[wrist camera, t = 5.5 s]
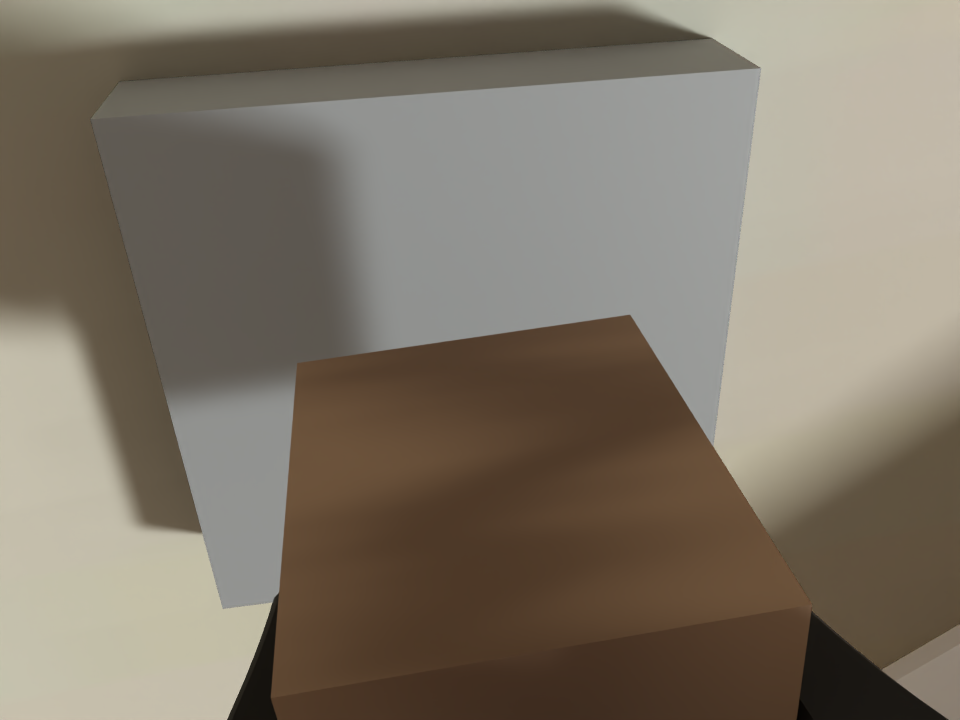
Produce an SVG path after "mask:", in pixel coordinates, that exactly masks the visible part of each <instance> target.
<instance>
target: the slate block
mask: <svg viewBox="0 0 960 720" xmlns="http://www.w3.org/2000/svg"><path fill="white" fill-rule="evenodd" d="M760 72H761V68H760V67H758V66H757V65H755V64H753V63H752V62H750V61H748V60H747V59H745V58H744V57H742V56H740V55H739V54H737V53H735V52H734V51H732V50H731V49H729V48H727V47H726V46H724V45H722V44H721V43H719V42H717V41H716V40H714V39H713V38H710V39H696V40H682V41H669V42H655V43H641V44H627V45H613V46H600V47H586V48H572V49H558V50H545V51H531V52H517V53H503V54H490V55H476V56H462V57H448V58H434V59H421V60H407V61H393V62H379V63H366V64H352V65H338V66H324V67H311V68H297V69H283V70H269V71H256V72H242V73H228V74H214V75H200V76H187V77H173V78H159V79H145V80H132V81H120V82H119V83H118V84H117V85H116V87H115V88H114V89H113V91H112V92H111V93H110V94H109V96H108V97H107V98H106V100H105V101H104V102H103V103H102V105H101V106H100V107H99V109H98V110H97V111H96V112H95V114H94V115H93V116H92V118H91V119H90V120H91V124H92V128H93V131H94V135H95V139H96V142H97V146H98V150H99V153H100V157H101V161H102V164H103V168H104V172H105V176H106V179H107V183H108V187H109V190H110V194H111V198H112V201H113V205H114V209H115V212H116V216H117V220H118V224H119V227H120V231H121V235H122V238H123V242H124V246H125V249H126V253H127V257H128V260H129V264H130V268H131V272H132V275H133V279H134V283H135V286H136V290H137V294H138V297H139V301H140V305H141V308H142V312H143V316H144V320H145V323H146V327H147V331H148V334H149V338H150V342H151V345H152V349H153V353H154V356H155V360H156V364H157V368H158V371H159V375H160V379H161V382H162V386H163V390H164V393H165V397H166V401H167V404H168V408H169V412H170V416H171V419H172V423H173V427H174V430H175V434H176V438H177V441H178V445H179V449H180V452H181V456H182V460H183V464H184V467H185V471H186V475H187V478H188V482H189V486H190V489H191V493H192V497H193V500H194V504H195V508H196V512H197V515H198V519H199V523H200V526H201V530H202V534H203V537H204V541H205V545H206V548H207V552H208V556H209V560H210V563H211V567H212V571H213V574H214V578H215V582H216V585H217V589H218V593H219V596H220V600H221V604H222V607H223V609H225V608H233V607H240V606H248V605H256V604H264V603H271V602H273V600H274V597H275V596H276V595H277V594H278V593H279V587H280V574H281V561H282V548H283V535H284V523H285V510H286V497H287V484H288V472H289V459H290V446H291V433H292V421H293V408H294V395H295V382H296V370H297V363H301V362H308V361H315V360H322V359H329V358H335V357H342V356H349V355H356V354H363V353H370V352H377V351H383V350H390V349H397V348H404V347H411V346H418V345H425V344H432V343H438V342H445V341H452V340H459V339H466V338H473V337H480V336H487V335H493V334H500V333H507V332H514V331H521V330H528V329H535V328H541V327H548V326H555V325H562V324H569V323H576V322H583V321H590V320H596V319H603V318H610V317H617V316H624V315H631V317H632V318H633V320H634V321H635V323H636V325H637V326H638V328H639V329H640V331H641V333H642V334H643V336H644V337H645V339H646V340H647V342H648V344H649V345H650V347H651V348H652V350H653V352H654V353H655V355H656V356H657V358H658V360H659V361H660V363H661V364H662V366H663V368H664V369H665V371H666V372H667V374H668V376H669V377H670V379H671V380H672V382H673V383H674V385H675V387H676V388H677V390H678V391H679V393H680V395H681V396H682V398H683V399H684V401H685V403H686V404H687V406H688V407H689V409H690V411H691V412H692V414H693V415H694V417H695V419H696V420H697V422H698V423H699V425H700V427H701V428H702V430H703V431H704V433H705V434H706V436H707V438H708V439H709V441H710V442H711V444H712V446H713V445H714V437H715V429H716V421H717V413H718V405H719V397H720V389H721V381H722V373H723V366H724V358H725V350H726V342H727V334H728V326H729V318H730V310H731V302H732V294H733V286H734V278H735V270H736V262H737V255H738V247H739V239H740V231H741V223H742V215H743V207H744V199H745V191H746V183H747V175H748V167H749V159H750V151H751V144H752V136H753V128H754V120H755V112H756V104H757V96H758V88H759V80H760Z"/></svg>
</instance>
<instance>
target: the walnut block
mask: <svg viewBox="0 0 960 720" xmlns="http://www.w3.org/2000/svg"><path fill="white" fill-rule="evenodd" d="M811 610H812V603H811V602H810V600H809V599H808V597H807V595H806V594H805V592H804V591H803V589H802V587H801V586H800V584H799V583H798V581H797V579H796V578H795V576H794V575H793V573H792V571H791V570H790V568H789V567H788V565H787V563H786V562H785V560H784V559H783V557H782V556H781V554H780V552H779V551H778V549H777V548H776V546H775V544H774V543H773V541H772V540H771V538H770V536H769V535H768V533H767V532H766V530H765V528H764V527H763V525H762V524H761V522H760V520H759V519H758V517H757V516H756V514H755V513H754V511H753V509H752V508H751V506H750V505H749V503H748V501H747V500H746V498H745V497H744V495H743V493H742V492H741V490H740V489H739V487H738V485H737V484H736V482H735V481H734V479H733V477H732V476H731V474H730V473H729V471H728V470H727V468H726V466H725V465H724V463H723V462H722V460H721V458H720V457H719V455H718V454H717V452H716V450H715V449H714V447H713V446H712V444H711V442H710V441H709V439H708V438H707V436H706V434H705V433H704V431H703V430H702V428H701V427H700V425H699V423H698V422H697V420H696V419H695V417H694V415H693V414H692V412H691V411H690V409H689V407H688V406H687V404H686V403H685V401H684V399H683V398H682V396H681V395H680V393H679V391H678V390H677V388H676V387H675V385H674V383H673V382H672V380H671V379H670V377H669V376H668V374H667V372H666V371H665V369H664V368H663V366H662V364H661V363H660V361H659V360H658V358H657V356H656V355H655V353H654V352H653V350H652V348H651V347H650V345H649V344H648V342H647V340H646V339H645V337H644V336H643V334H642V333H641V331H640V329H639V328H638V326H637V325H636V323H635V321H634V320H633V318H632V317H631V315H624V316H617V317H610V318H603V319H596V320H590V321H583V322H576V323H569V324H562V325H555V326H548V327H541V328H535V329H528V330H521V331H514V332H507V333H500V334H493V335H487V336H480V337H473V338H466V339H459V340H452V341H445V342H438V343H432V344H425V345H418V346H411V347H404V348H397V349H390V350H383V351H377V352H370V353H363V354H356V355H349V356H342V357H335V358H329V359H322V360H315V361H308V362H301V363H297V370H296V382H295V395H294V408H293V421H292V433H291V446H290V459H289V472H288V484H287V497H286V510H285V523H284V535H283V548H282V561H281V574H280V587H279V599H278V612H277V625H276V638H275V650H274V663H273V676H272V689H271V700H272V704H273V707H274V710H275V713H276V717H277V720H797V713H798V705H799V698H800V691H801V683H802V676H803V669H804V661H805V654H806V647H807V639H808V632H809V625H810V617H811Z"/></svg>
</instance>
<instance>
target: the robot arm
mask: <svg viewBox="0 0 960 720" xmlns="http://www.w3.org/2000/svg"><path fill="white" fill-rule="evenodd" d="M278 599H279V593H278V594H277V595H276V596H275V597H274V600H273V603H272V606H271V610H270V613H269V616H268V619H267V622H266V625H265V628H264V631H263V634H262V637H261V639H260V642H259V645H258V647H257V650H256V653H255V655H254V658H253V660H252V663H251V665H250V668H249V670H248V673H247V675H246V678H245V680H244V683H243V685H242V687H241V689H240V692H239V694H238V696H237V698H236V701H235V703H234V705H233V708H232V710H231V712H230V714H229V717H228V719H227V720H277V717H276V713H275V710H274V707H273V704H272V700H271V689H272V676H273V663H274V650H275V638H276V625H277V612H278ZM797 720H948V719H947V718H946V717H944V716H943V715H941V714H940V713H939V712H937V711H936V710H934V709H933V708H931V707H930V706H929V705H927V704H926V703H924V702H923V701H922V700H920V699H919V698H917V697H916V696H915V695H913V694H912V693H911V692H909V691H908V690H907V689H905V688H904V687H903V686H901V685H900V684H899V683H897V682H896V681H895V680H894V679H892V678H891V677H890V676H888V675H887V674H886V673H884V672H883V671H882V670H881V669H879V668H878V667H877V666H876V665H875V664H873V663H872V662H871V661H870V660H868V659H867V658H866V657H865V656H863V655H862V654H861V653H860V652H858V651H857V650H856V649H855V648H854V647H852V646H851V645H850V644H849V643H848V642H846V641H845V640H844V639H843V638H842V637H841V636H839V635H838V634H837V633H836V632H835V631H833V630H832V629H831V628H830V627H829V626H828V625H827V624H826V623H824V622H823V621H822V620H821V619H820V618H819V617H818V616H817V615H815V614H814V613H813V612H812V611H811V617H810V625H809V632H808V639H807V647H806V654H805V661H804V669H803V676H802V683H801V691H800V698H799V705H798V713H797Z"/></svg>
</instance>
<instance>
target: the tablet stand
mask: <svg viewBox="0 0 960 720" xmlns="http://www.w3.org/2000/svg"><path fill="white" fill-rule="evenodd" d="M882 671H883V672H884V673H886V674H887V675H888V676H890V677H891V678H892V679H894V680H895V681H896V682H897V683H899V684H900V685H901V686H903V687H904V688H905V689H907V690H908V691H909V692H911V693H912V694H913V695H915V696H916V697H917V698H919V699H920V700H922V701H923V702H924V703H926V704H927V705H929V706H930V707H931V708H933V709H934V710H936V711H937V712H939V713H940V714H941V715H943V716H944V717H946V718H947V719H948V720H960V624H959V625H957V626H955V627H954V628H952V629H950V630H949V631H947V632H945V633H943V634H942V635H940V636H938V637H937V638H935V639H933V640H931V641H930V642H928V643H926V644H925V645H923V646H921V647H919V648H918V649H916V650H914V651H913V652H911V653H909V654H907V655H906V656H904V657H902V658H901V659H899V660H897V661H895V662H894V663H892V664H890V665H889V666H887V667H885V668H883V669H882Z"/></svg>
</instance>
